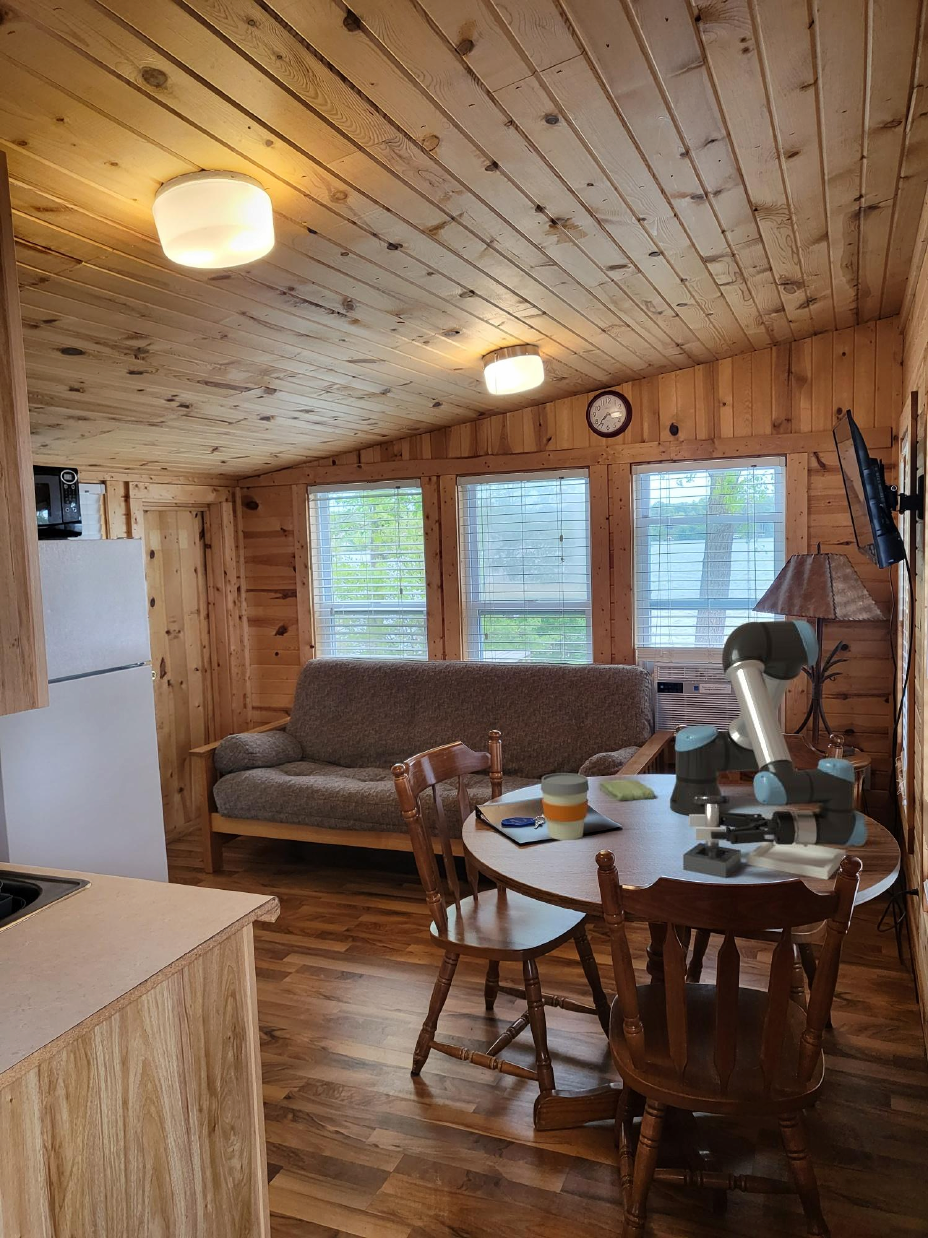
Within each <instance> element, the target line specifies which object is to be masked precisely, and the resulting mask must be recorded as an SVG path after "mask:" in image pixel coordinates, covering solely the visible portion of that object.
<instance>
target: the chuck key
mask: <svg viewBox="0 0 928 1238" xmlns="http://www.w3.org/2000/svg"><path fill="white" fill-rule="evenodd" d="M693 800H694V802H695V803H697V804H705V827H706V828H719V811H718V804H726V805H727V804H728V803H730V801H731V798H730V797H729V796H728V795H722V796H695V797H694V799H693ZM719 842H720V840H704V844H705V852H706V856H709V857H715V858H719V846H720V843H719Z"/></svg>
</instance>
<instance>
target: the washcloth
mask: <svg viewBox="0 0 928 1238" xmlns="http://www.w3.org/2000/svg"><path fill="white" fill-rule="evenodd" d="M599 785H600V786H599V790H601V791H602V792H603V793H605V794H606V795H608V797H611V798H613V799H614V800H615V801H617V802H625V801H634V800H637V801H638V800H653V799H654V798H655V797H656V795H655V791H654V790H653V789H652V788H651V787H648V786H647V785H646V784H643V783H641V782H640V781H639V780H635V779H634V780H633V779H631V780H630V779H626V780H625V779H623V780H621V779H620V780H619V779H618V780H617V779H615V780H612V781H606V780H602V781H601V782H600V783H599Z"/></svg>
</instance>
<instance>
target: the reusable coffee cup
mask: <svg viewBox="0 0 928 1238" xmlns="http://www.w3.org/2000/svg"><path fill="white" fill-rule="evenodd" d="M540 781H541V783H540V784H541V785H540V791H541V792H542V799H541V801H542V803H541V804H542V809H543V810H542V811H543V815H544V816H543V817H544V818H545V820H546V825H547V834H548V836H549V837H550V838H552V839H554V840H555V839H556V840H561V841H573V840H577V839H580V838H582V837H583V836H584V829H585V828H584V826H585V819H586V818H587V815H588V813H587V812H588V807H589V805H588V803H589V799H588V791H589V780H588V776H586V775H583V774H579V773H574V772H573V773H571V772H570V773H569V772H559V773H557V772H555V773H550V774H546V775H544V776H542V777H541V780H540Z"/></svg>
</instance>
